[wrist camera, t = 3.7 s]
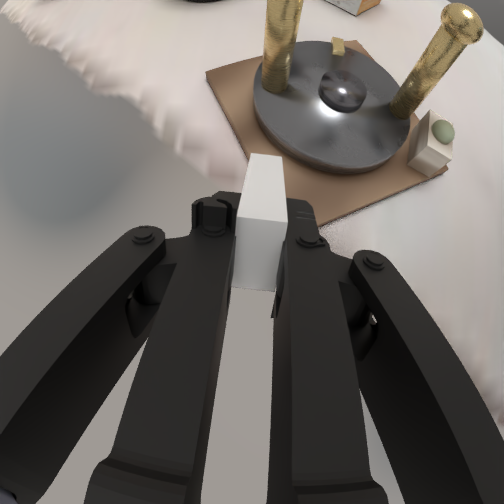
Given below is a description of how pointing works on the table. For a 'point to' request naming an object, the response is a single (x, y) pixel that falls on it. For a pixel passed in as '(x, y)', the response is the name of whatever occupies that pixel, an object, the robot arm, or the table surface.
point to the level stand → (325, 183)
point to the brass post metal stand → (345, 91)
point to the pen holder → (202, 0)
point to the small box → (355, 5)
